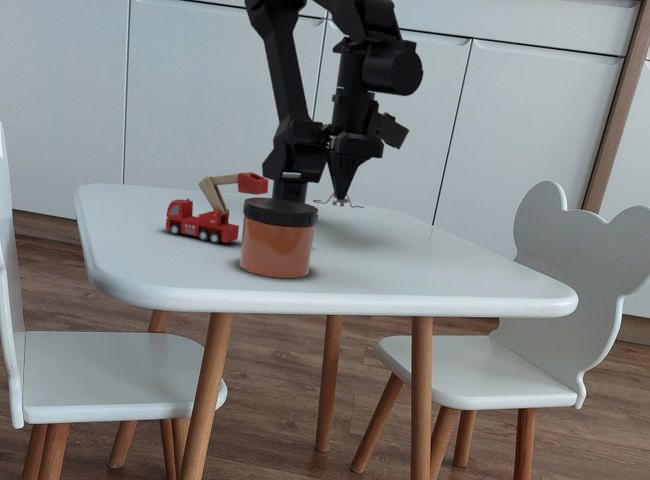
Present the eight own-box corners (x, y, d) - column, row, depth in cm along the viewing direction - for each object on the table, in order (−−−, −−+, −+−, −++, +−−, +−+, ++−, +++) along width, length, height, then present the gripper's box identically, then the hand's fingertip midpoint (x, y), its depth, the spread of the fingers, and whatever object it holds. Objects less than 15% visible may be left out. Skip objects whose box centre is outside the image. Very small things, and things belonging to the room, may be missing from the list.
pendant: (311, 203, 104) (313, 185, 103) (313, 201, 108) (315, 184, 107) (363, 209, 103) (365, 191, 102) (363, 207, 107) (366, 190, 107)
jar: (237, 256, 86) (242, 199, 83) (302, 262, 87) (310, 206, 85) (241, 274, 78) (248, 212, 76) (313, 281, 80) (322, 219, 77)
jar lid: (240, 207, 84) (242, 194, 83) (310, 214, 85) (311, 202, 85) (245, 221, 76) (247, 207, 75) (322, 228, 77) (324, 215, 77)
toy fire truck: (174, 228, 96) (179, 158, 93) (262, 248, 92) (270, 175, 89) (161, 231, 93) (165, 159, 90) (251, 251, 89) (259, 176, 86)
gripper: (429, 100, 91) (407, 216, 97) (392, 95, 108) (375, 194, 114) (348, 88, 89) (331, 207, 95) (323, 86, 106) (310, 187, 112)
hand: (339, 198), depth 104 cm, fingers closed on pendant
